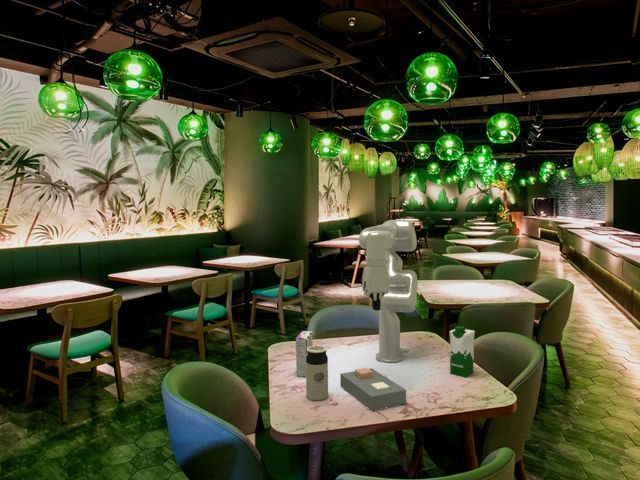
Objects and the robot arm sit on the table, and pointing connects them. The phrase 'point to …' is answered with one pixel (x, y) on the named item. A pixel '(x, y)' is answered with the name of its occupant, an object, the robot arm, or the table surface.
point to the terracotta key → (363, 373)
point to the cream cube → (380, 386)
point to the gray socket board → (373, 390)
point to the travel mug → (316, 373)
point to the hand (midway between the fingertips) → (376, 309)
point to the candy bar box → (302, 351)
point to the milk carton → (461, 351)
